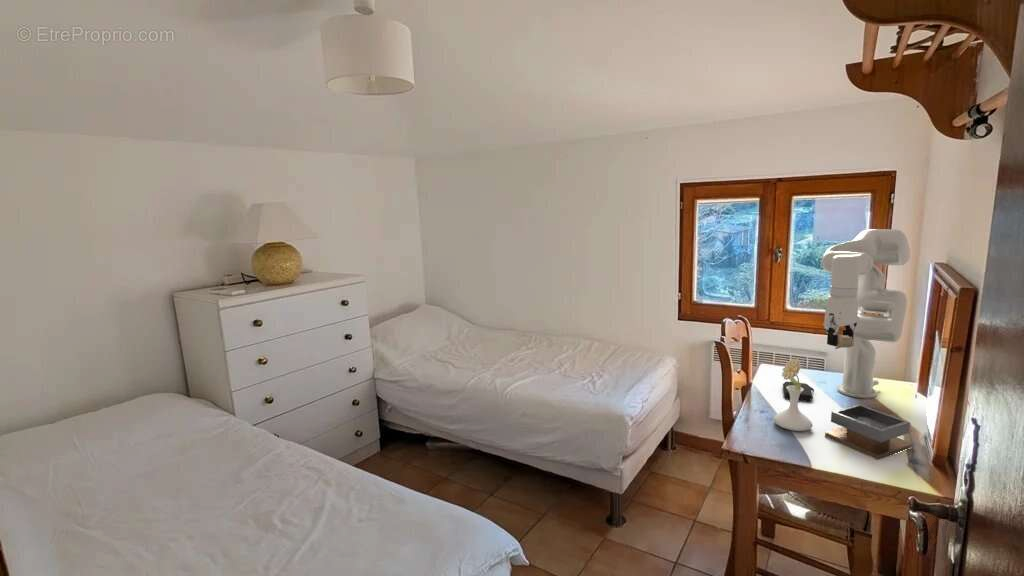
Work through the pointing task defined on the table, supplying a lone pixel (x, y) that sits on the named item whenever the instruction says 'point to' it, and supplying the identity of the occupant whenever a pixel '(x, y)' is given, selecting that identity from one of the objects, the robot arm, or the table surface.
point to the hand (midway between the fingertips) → (839, 343)
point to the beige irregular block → (844, 340)
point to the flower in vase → (793, 401)
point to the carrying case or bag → (804, 395)
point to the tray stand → (869, 431)
